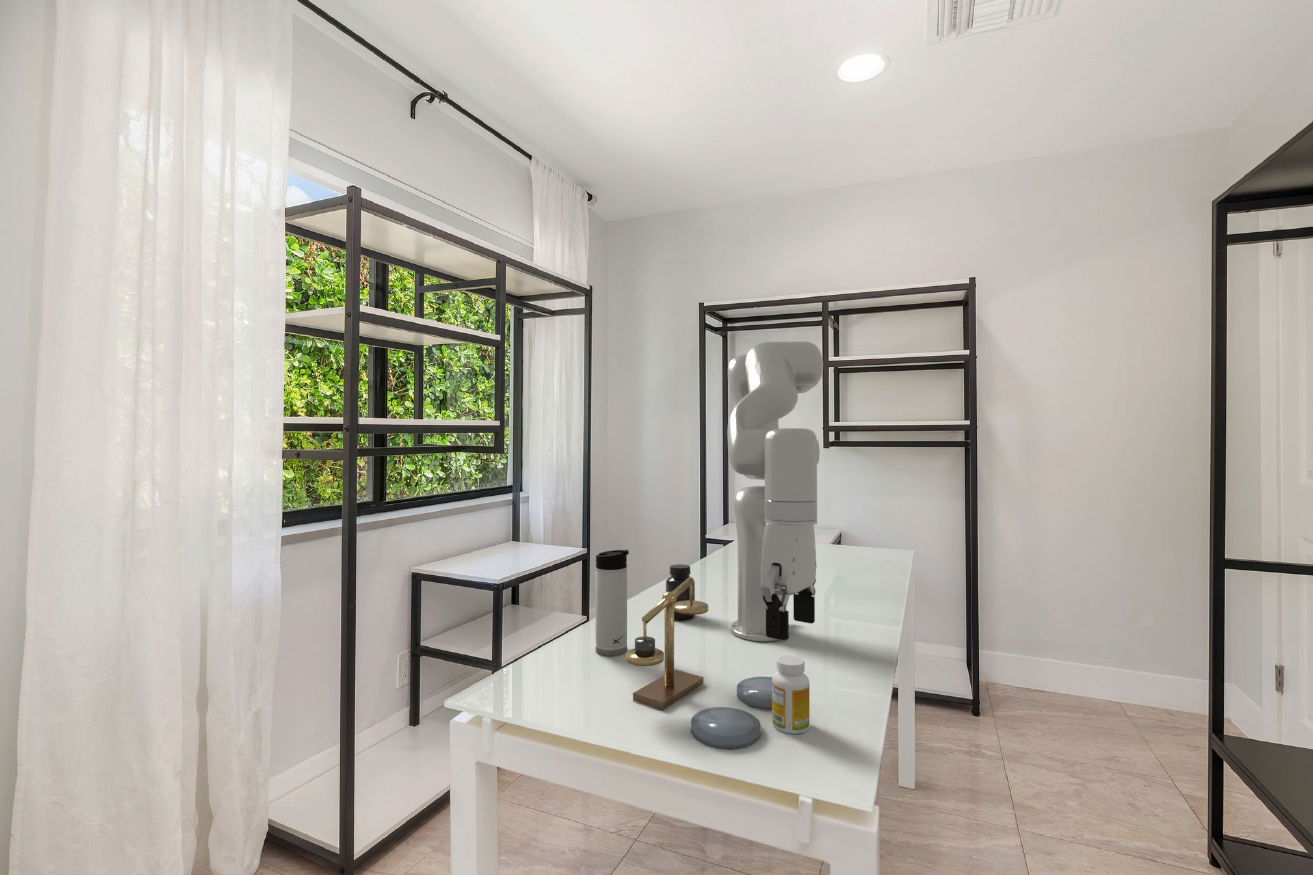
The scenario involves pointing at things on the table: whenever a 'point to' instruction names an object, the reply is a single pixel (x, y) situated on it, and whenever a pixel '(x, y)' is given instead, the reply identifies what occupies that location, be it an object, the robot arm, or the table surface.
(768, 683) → the dish high side
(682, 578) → the supplement bottle
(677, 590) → the balance
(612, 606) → the travel mug
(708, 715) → the dish low side
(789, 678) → the supplement bottle
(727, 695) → the table surface
